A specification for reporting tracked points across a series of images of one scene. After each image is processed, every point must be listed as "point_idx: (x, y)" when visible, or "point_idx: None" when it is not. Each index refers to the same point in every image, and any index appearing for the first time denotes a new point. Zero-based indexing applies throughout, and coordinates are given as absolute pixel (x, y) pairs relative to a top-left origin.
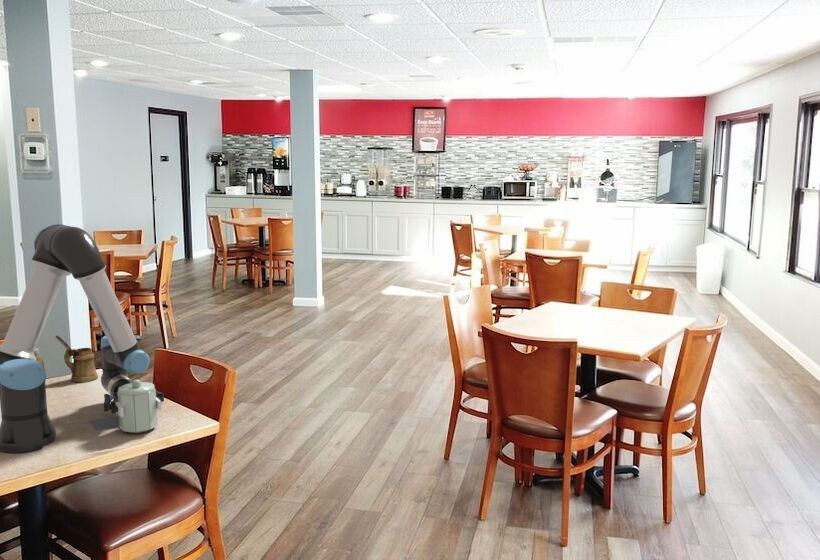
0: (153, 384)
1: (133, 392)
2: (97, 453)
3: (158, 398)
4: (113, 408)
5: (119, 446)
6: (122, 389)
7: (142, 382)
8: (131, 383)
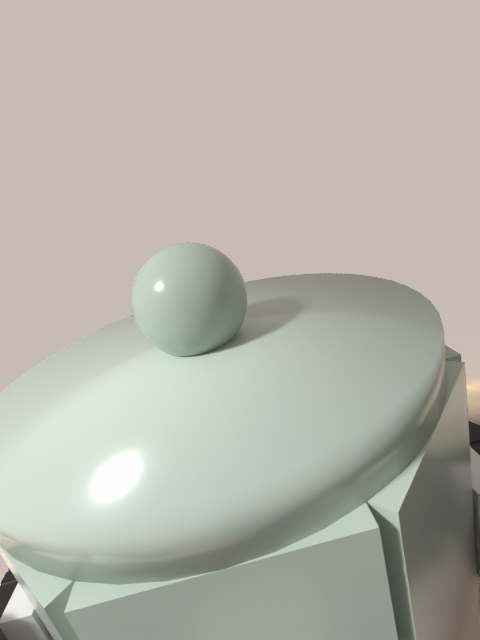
0: (4, 391)
1: (258, 280)
2: (473, 415)
3: (13, 589)
4: (477, 431)
5: None
6: (363, 295)
7: (10, 489)
8: (224, 466)
